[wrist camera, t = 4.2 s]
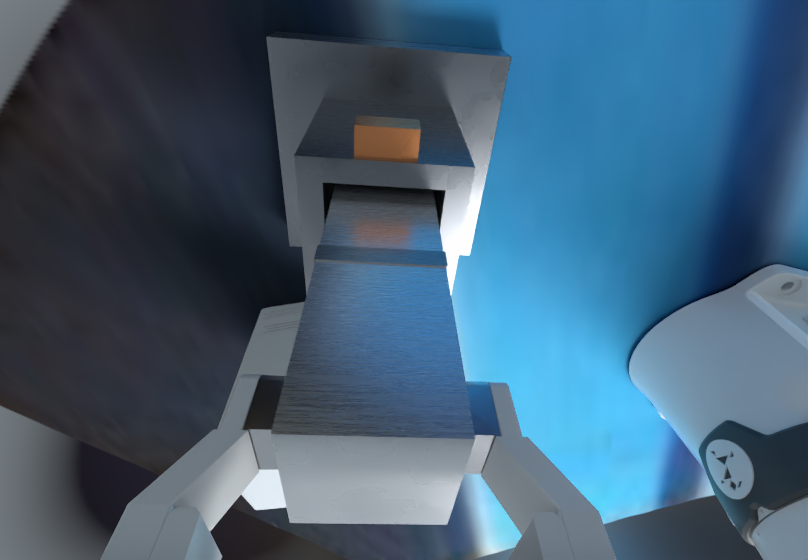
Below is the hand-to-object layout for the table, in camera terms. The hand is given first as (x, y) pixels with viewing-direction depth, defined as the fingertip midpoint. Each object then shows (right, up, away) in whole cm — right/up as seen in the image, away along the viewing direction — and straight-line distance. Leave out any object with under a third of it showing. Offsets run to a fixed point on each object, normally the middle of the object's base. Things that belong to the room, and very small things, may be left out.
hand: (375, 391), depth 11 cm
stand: (0, +11, +14) cm, 18 cm away
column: (0, +10, +12) cm, 15 cm away
